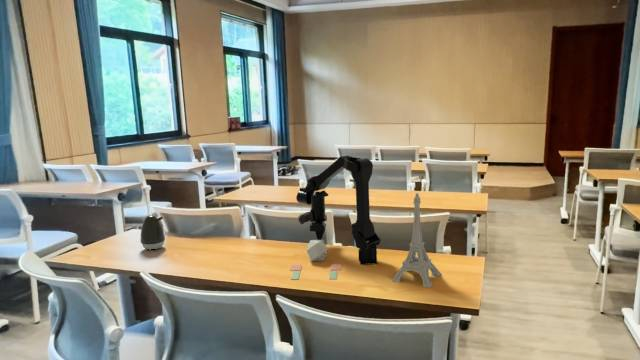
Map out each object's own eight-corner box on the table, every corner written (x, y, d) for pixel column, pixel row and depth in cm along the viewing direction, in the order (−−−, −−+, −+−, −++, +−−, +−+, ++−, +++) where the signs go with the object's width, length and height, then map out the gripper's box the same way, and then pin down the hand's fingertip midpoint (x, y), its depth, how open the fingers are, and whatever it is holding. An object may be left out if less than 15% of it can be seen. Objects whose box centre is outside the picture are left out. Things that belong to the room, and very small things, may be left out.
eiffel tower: (405, 268, 162) (404, 188, 157) (441, 274, 155) (442, 190, 150) (391, 281, 151) (391, 195, 146) (430, 288, 144) (430, 198, 139)
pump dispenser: (161, 251, 190) (158, 217, 188) (137, 252, 190) (134, 218, 188) (169, 244, 200) (166, 212, 198) (147, 245, 200) (143, 212, 198)
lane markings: (341, 264, 167) (341, 264, 167) (340, 279, 154) (340, 278, 154) (291, 265, 169) (291, 264, 168) (286, 279, 155) (286, 279, 155)
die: (320, 266, 168) (332, 244, 170) (301, 255, 169) (313, 233, 170) (320, 266, 176) (332, 245, 178) (301, 256, 177) (313, 235, 178)
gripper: (301, 201, 194) (302, 235, 197) (296, 211, 176) (298, 249, 178) (326, 201, 193) (327, 235, 196) (324, 211, 175) (325, 248, 178)
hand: (319, 241), depth 187 cm, fingers closed
